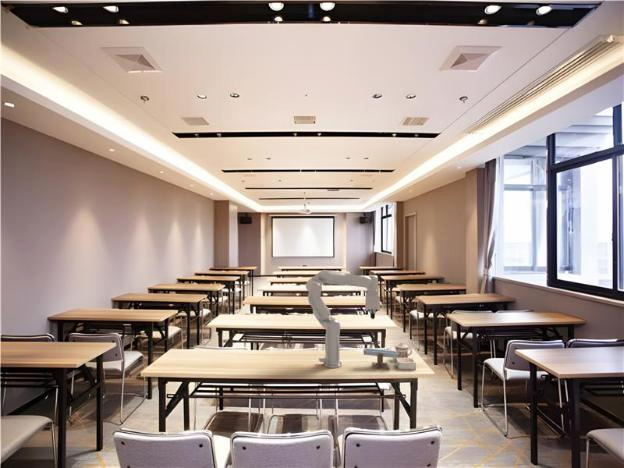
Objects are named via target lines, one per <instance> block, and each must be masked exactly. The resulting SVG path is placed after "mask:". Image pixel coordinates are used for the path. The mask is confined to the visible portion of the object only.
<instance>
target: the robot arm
mask: <svg viewBox="0 0 624 468" xmlns="http://www.w3.org/2000/svg"><path fill="white" fill-rule="evenodd" d="M324 284H331V285H340V286H350V287H359V288H366V290H365V293H364V294H366V295H365V300H364V302H365V304H364V305H365V307H364V310H365V312H369V314H370V318H371V320H375V318H376V313H377V312H379V311H380V312H381V299H380V294H379V277H378V275H376V274H370V275H364V274H360V275H357V274H351V273H348V272H341V271H334V270H326V269H323V270H321V271H319V272H318V273H316V274H314V275H313V276H312V277H311V278H310V279H309V280H308V281H307V282H306V283H305V289H306V290H307V292H308V294H307V300H308V304H309V305H310V306H311V308H312V313H313V315H314V317H315V319H316V320H317V322H318V323H319V324H320V325H321V327H322V328H323V329H324V330H325V331H326V332H325V341H324V342H325V346H324V347H325V352H324V353H325V356H324V357H323V358H321V357H319V358H318V362H321V363H323V364H322V365H323V366H324V367H325V368H329V369H333V368H334V369H336V368H340V367H341V366H342V361H340V335H341V333H340V332H341V324H340V322H339V320H338V319H337V318H335V317H333V316H332V315H331V310H330V309H329V307H328V306H327V305H326V304H325V302H324V301H323V299H322V297H321V294H322V293H321V292H322V289H323V285H324Z"/></svg>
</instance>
